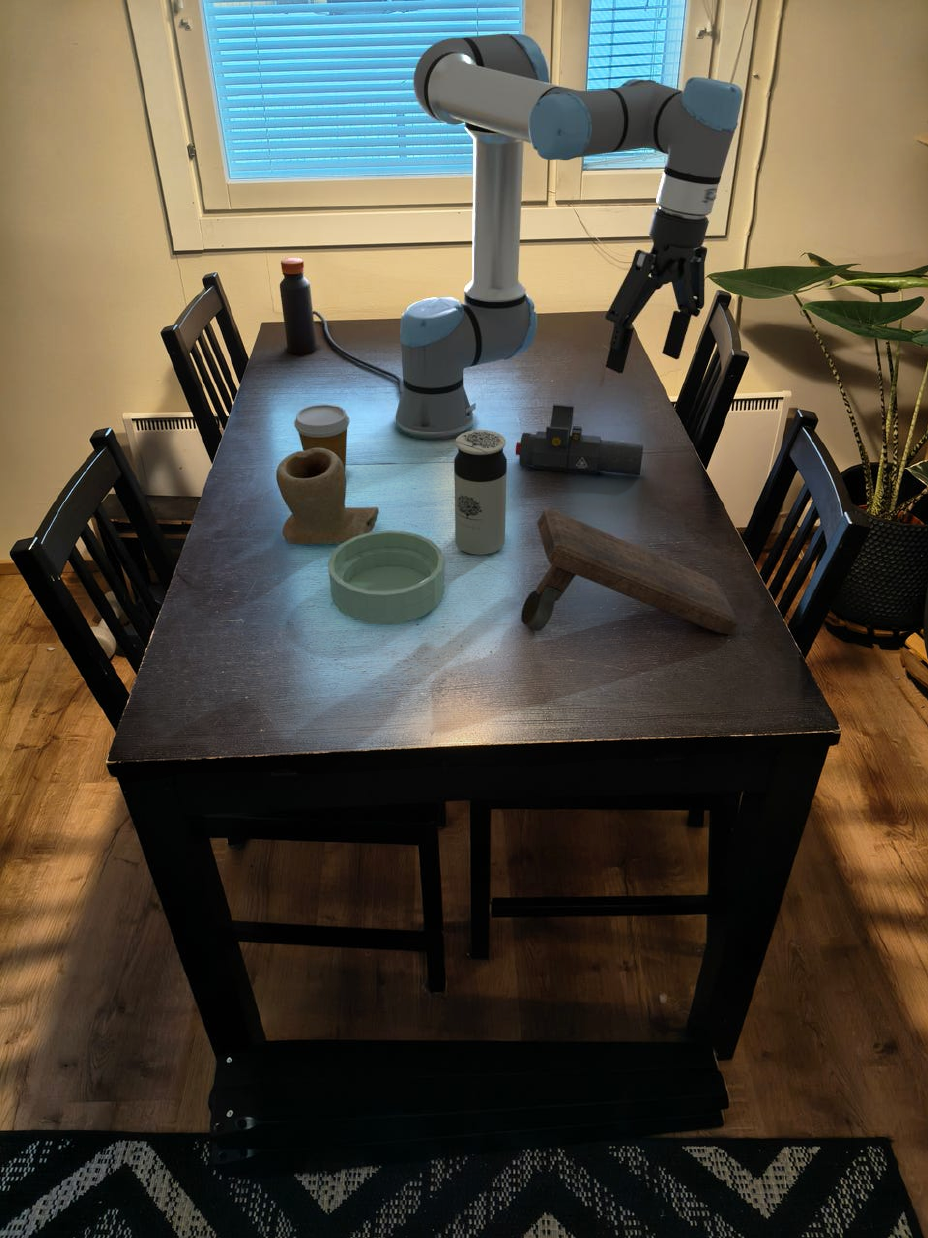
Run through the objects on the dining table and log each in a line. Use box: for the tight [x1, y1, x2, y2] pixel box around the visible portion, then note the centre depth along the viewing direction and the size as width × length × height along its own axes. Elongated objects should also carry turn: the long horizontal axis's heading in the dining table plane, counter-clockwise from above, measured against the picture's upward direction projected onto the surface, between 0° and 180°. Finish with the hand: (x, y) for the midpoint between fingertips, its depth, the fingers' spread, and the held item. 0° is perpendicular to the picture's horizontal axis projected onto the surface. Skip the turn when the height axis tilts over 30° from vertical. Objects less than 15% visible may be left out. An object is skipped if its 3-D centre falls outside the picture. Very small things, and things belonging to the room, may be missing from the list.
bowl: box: [327, 529, 446, 626], centre depth 134 cm, size 17×17×6 cm
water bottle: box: [279, 257, 318, 355], centre depth 208 cm, size 7×7×20 cm
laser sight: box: [515, 403, 644, 476], centre depth 163 cm, size 10×22×10 cm, turn 78°
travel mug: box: [453, 429, 508, 556], centre depth 141 cm, size 8×8×18 cm
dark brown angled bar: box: [520, 507, 739, 635], centre depth 128 cm, size 10×16×30 cm
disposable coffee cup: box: [293, 403, 351, 471], centre depth 161 cm, size 10×10×12 cm
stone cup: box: [275, 448, 380, 546], centre depth 144 cm, size 15×12×15 cm
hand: (643, 362), depth 136 cm, fingers open, 13 cm apart
